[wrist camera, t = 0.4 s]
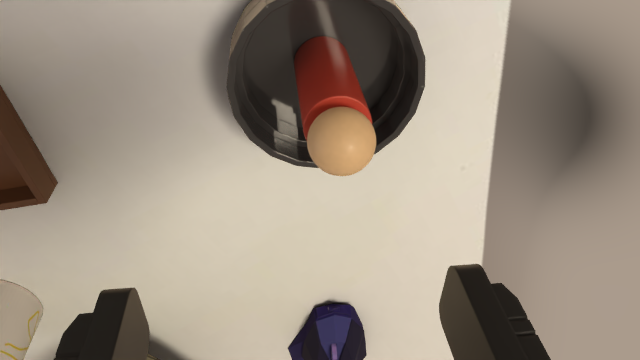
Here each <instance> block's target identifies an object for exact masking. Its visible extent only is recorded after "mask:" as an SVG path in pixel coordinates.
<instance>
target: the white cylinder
mask: <svg viewBox="0 0 640 360" xmlns="http://www.w3.org/2000/svg"><path fill="white" fill-rule="evenodd" d="M42 314H43V308H42V305H41V303H40V301H39V300H38V298H37V297H36V296H35V295H34V294H32V293H31V292H30V291H28V290H27V289H25V288H23V287H21V286H19V285H16V284H14V283H11V282H7V281H3V280H0V360H23V359H24V357H25V354H26V352H27V350H28V347H29V345H30V343H31V341H32V338H33V336H34V334H35V331H36V329H37V327H38V324H39V322H40V320H41V317H42Z"/></svg>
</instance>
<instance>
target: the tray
mask: <svg viewBox="0 0 640 360" xmlns="http://www.w3.org/2000/svg"><path fill="white" fill-rule="evenodd" d="M57 183H58V182H57V181H56V179H55V177H54V175H53V174H52V172H51V170H50V169H49V167H48V165H47V164H46V162H45V160H44V158H43V157H42V155H41V153H40V152H39V150H38V148H37V147H36V145H35V143H34V141H33V140H32V138H31V136H30V135H29V133H28V131H27V130H26V128H25V126H24V124H23V123H22V121H21V119H20V118H19V116H18V114H17V113H16V111H15V109H14V107H13V106H12V104H11V102H10V101H9V99H8V97H7V96H6V94H5V92H4V90H3V89H2V87H1V85H0V210H5V209H12V208H18V207H24V206H31V205H37V204H43V203H47V202H48V200H49V198H50V196H51V194H52V192H53V191H54V189H55V187H56V185H57Z"/></svg>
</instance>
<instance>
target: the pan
mask: <svg viewBox="0 0 640 360" xmlns="http://www.w3.org/2000/svg"><path fill="white" fill-rule="evenodd" d="M320 36H326V37H331V38H334V39H336V40H337V41H339V42H340V43H341V44H342V45H343V46H344V47H345V49H346V50H347V53H348V55H349V58H350V61H351V63H352V66H353V69H354V71H355V74H356V77H357V79H358V82H359V85H360V87H361V90H362V93H363V95H364V98H365V101H366V103H367V106H368V109H369V111H370V114H371V118H372V126H373V128H374V130H375V134H376V148H375V152H374V154H376V153H377V152H379V151H380V150H381V149H382V148H384V147H385V146H386V145H388V144H389V143H390V142H391V141H393V140H394V139H395V138H396V137H398V136H399V135H400V133H401V132H402V131H403V129H404V128H405V126H406V125H407V124H408V122H409V121H410V120H411V118H412V117H413V116H414V114H415V113H416V110H417V107H418V104H419V101H420V98H421V96H422V93H423V90H424V86H425V55H424V52H423V49H422V46H421V44H420V41H419V38H418V35H417V32H416V30H415V28H414V27H413V25H412V24H411V23H410V21H409V20H408V18H407V17H406V16H405V14H404V13H403V12H402V10H401V9H400V8H399V6H398V5H397V4H396V3H395V2H394V0H252V1H251V2H250V3H249V4H248V5H247V6H246V7H245V9H244V10H243V12H242V14H241V17H240V19H239V21H238V23H237V25H236V28H235V30H234V32H233V34H232V38H231V47H230V55H229V65H228V76H227V93H228V97H229V100H230V104H231V108H232V112H233V115H234V117H235V119H236V120H237V122H238V123H239V125H240V126H241V128H242V129H243V131H244V132H245V134H246V135H247V137H248V138H249V139H250V140H251V141H252V142H254V143H255V144H256V145H257V146H259V147H260V148H261V149H263V150H264V151H265V152H266V153H268V154H269V155H270V156H272V157H275V158H277V159H280V160H283V161H285V162H288V163H290V164H293V165H297V166H303V167H313V168H319V167H318V166H317V165H316V164H315V163H314V162H313V160H312V158H311V157H310V154H309V151H308V147H307V140H306V139H305V136H304V132H303V126H302V118H301V111H300V104H299V97H298V90H297V83H296V76H295V69H294V59H295V55H296V53H297V51H298V49H299V48H300V47H301V45H302V44H304V43H305V42H306V41H308V40H310V39H312V38H315V37H320Z"/></svg>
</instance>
